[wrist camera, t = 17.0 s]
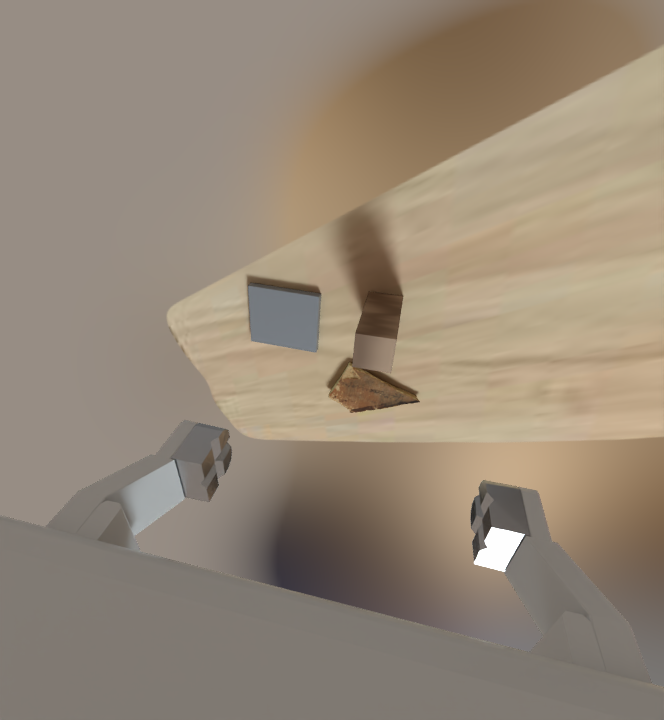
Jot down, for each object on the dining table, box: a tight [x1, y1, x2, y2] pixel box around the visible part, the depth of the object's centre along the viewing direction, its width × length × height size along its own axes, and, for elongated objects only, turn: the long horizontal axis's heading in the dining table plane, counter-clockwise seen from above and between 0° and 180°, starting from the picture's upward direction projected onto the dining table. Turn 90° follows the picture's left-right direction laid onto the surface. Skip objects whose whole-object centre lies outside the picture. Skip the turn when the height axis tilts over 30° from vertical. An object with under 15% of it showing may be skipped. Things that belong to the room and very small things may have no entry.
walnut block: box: [352, 291, 403, 373], centre depth 43 cm, size 4×4×10 cm
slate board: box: [248, 283, 321, 352], centre depth 50 cm, size 2×8×9 cm
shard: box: [328, 362, 420, 413], centre depth 54 cm, size 11×8×2 cm
